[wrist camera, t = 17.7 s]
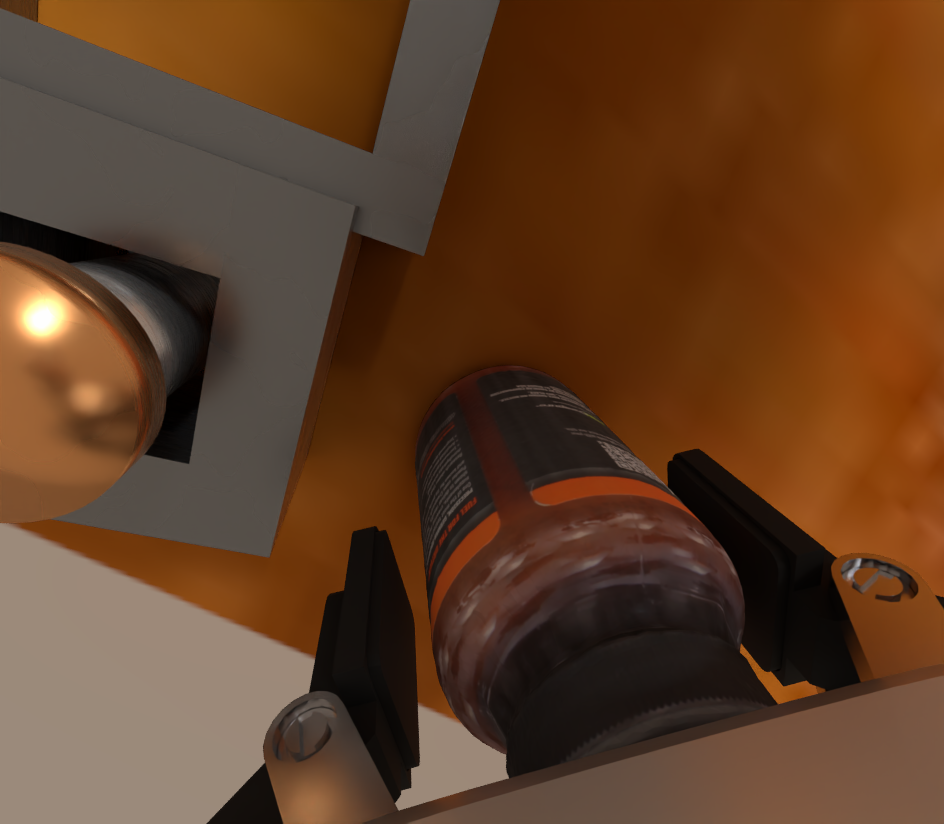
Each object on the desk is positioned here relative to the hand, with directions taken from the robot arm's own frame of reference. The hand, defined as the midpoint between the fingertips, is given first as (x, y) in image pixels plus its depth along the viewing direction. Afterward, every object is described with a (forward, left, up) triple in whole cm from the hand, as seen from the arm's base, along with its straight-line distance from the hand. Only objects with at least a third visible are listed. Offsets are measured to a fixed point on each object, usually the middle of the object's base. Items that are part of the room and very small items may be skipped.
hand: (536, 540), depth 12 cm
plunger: (-2, -10, -4) cm, 11 cm away
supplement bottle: (0, 0, -5) cm, 5 cm away
